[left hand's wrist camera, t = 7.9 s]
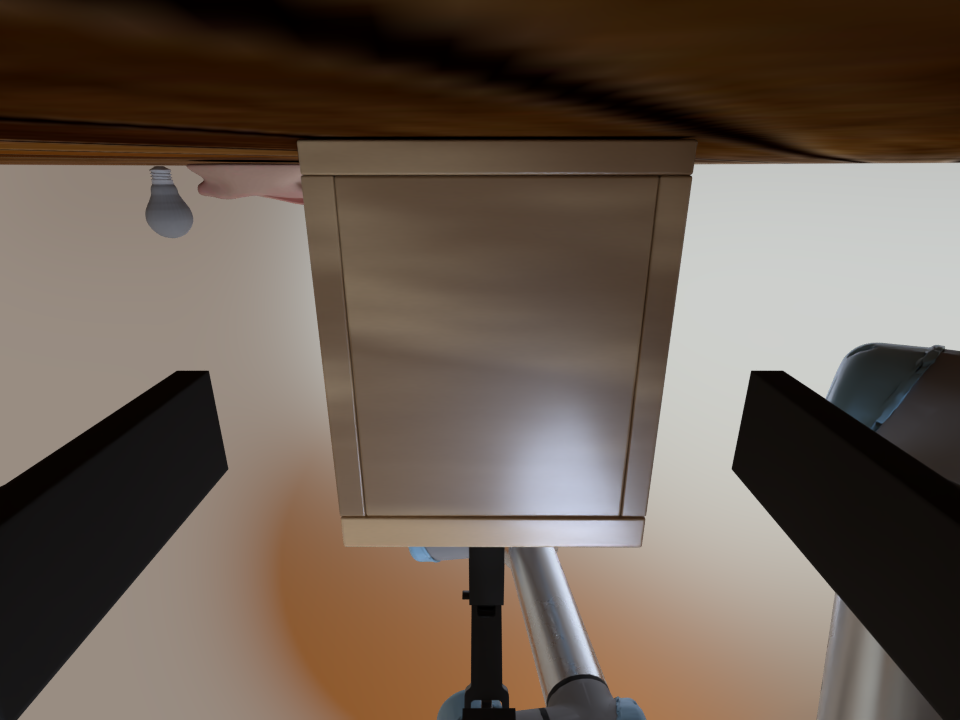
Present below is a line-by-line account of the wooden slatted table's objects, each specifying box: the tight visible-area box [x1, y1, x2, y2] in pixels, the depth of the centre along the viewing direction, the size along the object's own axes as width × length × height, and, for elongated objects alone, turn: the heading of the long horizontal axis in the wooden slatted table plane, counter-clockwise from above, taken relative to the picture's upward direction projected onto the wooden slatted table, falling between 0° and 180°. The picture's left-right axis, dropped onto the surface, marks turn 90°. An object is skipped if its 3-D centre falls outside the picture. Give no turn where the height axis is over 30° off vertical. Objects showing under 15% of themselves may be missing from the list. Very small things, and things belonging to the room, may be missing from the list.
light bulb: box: [146, 166, 193, 238], centre depth 74 cm, size 6×6×10 cm
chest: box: [297, 139, 697, 516], centre depth 20 cm, size 13×10×11 cm
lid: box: [341, 514, 645, 547], centre depth 24 cm, size 14×10×9 cm
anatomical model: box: [186, 163, 304, 205], centre depth 47 cm, size 13×4×12 cm
